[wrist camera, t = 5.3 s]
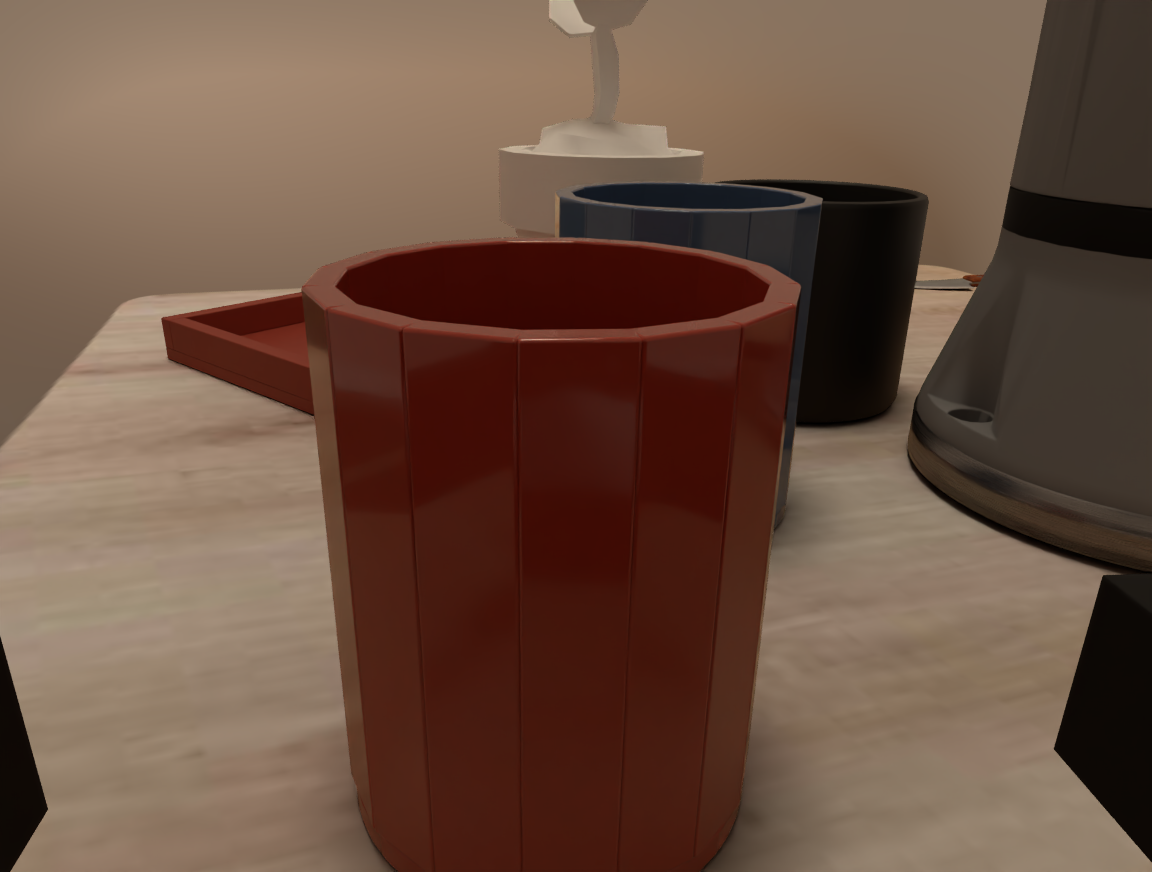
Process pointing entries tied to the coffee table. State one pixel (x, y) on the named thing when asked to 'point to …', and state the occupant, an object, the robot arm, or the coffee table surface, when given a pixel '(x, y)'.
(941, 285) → the knife
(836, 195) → the mug
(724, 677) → the red cup
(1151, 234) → the robot arm
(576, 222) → the blue cup
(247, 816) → the coffee table surface
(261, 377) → the red tray
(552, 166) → the potted plant
